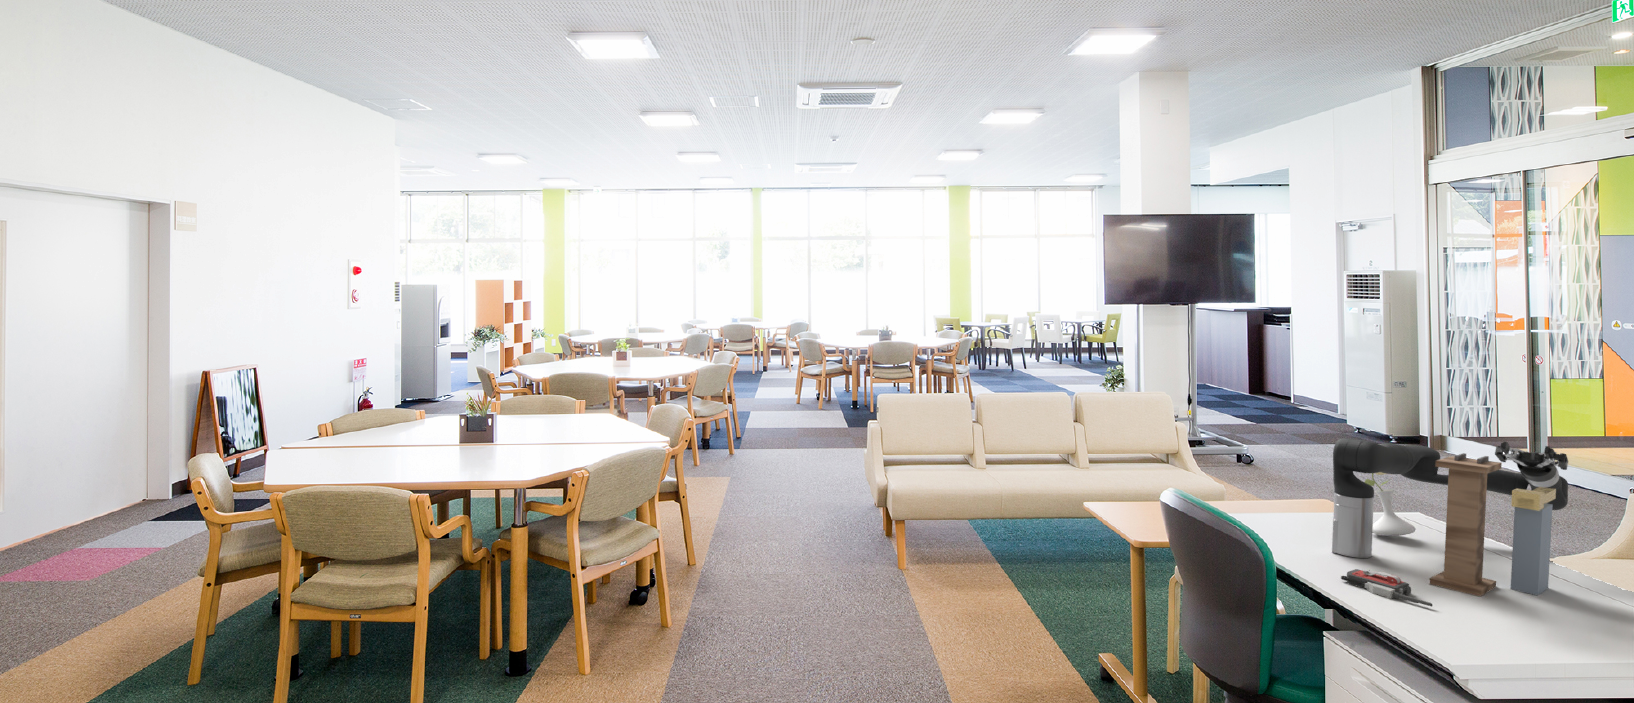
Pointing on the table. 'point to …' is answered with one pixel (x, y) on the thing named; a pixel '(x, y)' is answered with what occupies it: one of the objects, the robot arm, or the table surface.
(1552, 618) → the table surface
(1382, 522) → the flower in vase
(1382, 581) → the red long two-tone device
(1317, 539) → the table surface
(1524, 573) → the grey rectangular pillar
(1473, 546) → the brown wooden pedestal
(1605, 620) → the table surface
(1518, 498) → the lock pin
